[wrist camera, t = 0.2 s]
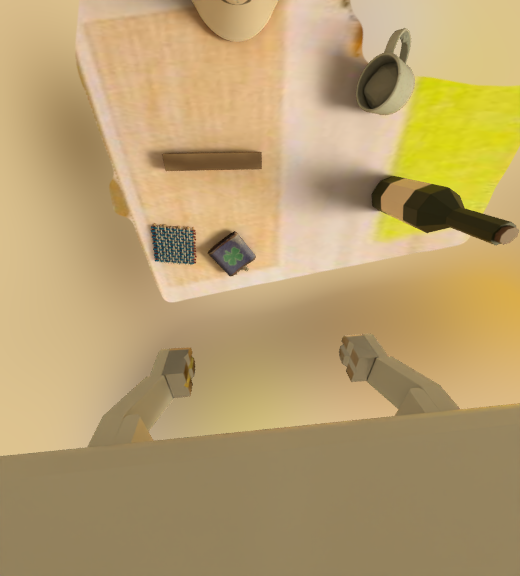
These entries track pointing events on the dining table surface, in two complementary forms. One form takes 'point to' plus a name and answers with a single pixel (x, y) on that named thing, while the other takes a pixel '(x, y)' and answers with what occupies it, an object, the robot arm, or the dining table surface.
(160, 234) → the woven mat
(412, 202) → the wine bottle
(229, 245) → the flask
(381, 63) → the ceramic mug
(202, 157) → the bar
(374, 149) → the dining table surface
